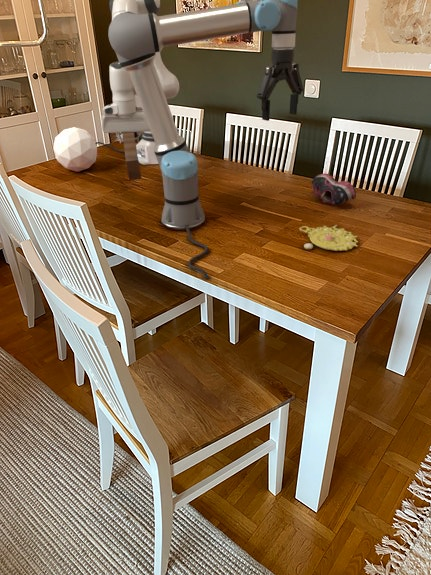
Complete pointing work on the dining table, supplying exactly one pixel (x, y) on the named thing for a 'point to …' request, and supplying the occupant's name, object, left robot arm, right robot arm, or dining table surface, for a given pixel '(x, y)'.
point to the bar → (131, 156)
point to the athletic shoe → (332, 189)
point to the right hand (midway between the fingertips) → (279, 117)
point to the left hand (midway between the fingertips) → (129, 143)
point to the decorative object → (330, 238)
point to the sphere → (75, 149)
